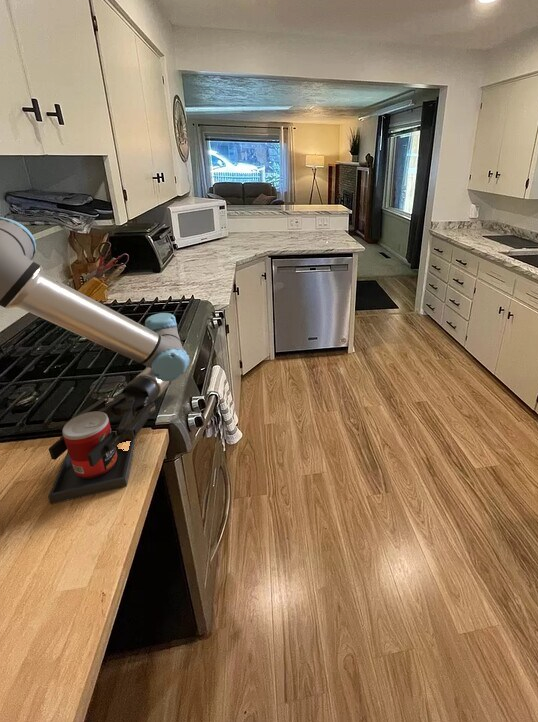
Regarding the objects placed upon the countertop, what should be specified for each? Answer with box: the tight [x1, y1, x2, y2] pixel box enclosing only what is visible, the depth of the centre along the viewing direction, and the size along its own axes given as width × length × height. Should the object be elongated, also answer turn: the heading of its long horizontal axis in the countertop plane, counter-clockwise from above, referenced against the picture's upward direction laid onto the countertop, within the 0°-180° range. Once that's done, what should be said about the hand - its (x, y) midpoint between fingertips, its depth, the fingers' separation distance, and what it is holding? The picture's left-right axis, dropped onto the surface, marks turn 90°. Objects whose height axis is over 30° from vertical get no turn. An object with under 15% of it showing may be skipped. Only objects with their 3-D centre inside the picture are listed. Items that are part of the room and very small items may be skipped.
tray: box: [47, 436, 137, 505], centre depth 76 cm, size 13×13×2 cm
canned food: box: [62, 411, 117, 478], centre depth 74 cm, size 8×8×11 cm
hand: (70, 457), depth 69 cm, fingers closed on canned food, 8 cm apart
